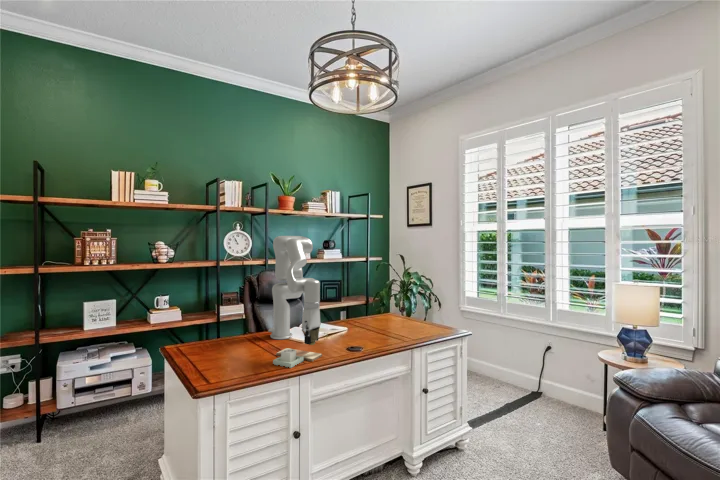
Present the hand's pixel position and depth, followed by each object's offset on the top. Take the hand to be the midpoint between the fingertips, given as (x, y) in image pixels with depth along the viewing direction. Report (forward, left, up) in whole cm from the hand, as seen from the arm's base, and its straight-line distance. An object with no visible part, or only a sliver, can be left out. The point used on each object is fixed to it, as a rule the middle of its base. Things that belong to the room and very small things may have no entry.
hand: (311, 341), depth 180 cm
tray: (-6, -11, -8) cm, 15 cm away
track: (-7, 0, -8) cm, 11 cm away
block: (-6, -11, -7) cm, 14 cm away
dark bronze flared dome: (0, 0, -1) cm, 1 cm away
